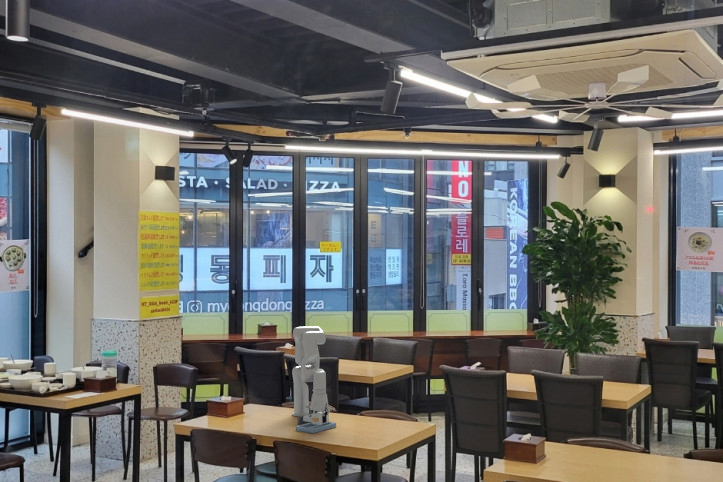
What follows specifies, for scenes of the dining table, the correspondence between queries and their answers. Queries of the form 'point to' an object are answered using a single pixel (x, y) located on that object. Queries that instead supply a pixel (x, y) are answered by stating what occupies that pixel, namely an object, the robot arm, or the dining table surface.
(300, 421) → the printer bay
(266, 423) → the dining table surface
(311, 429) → the tray
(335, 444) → the dining table surface
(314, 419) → the caddy
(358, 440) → the dining table surface
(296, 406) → the robot arm
